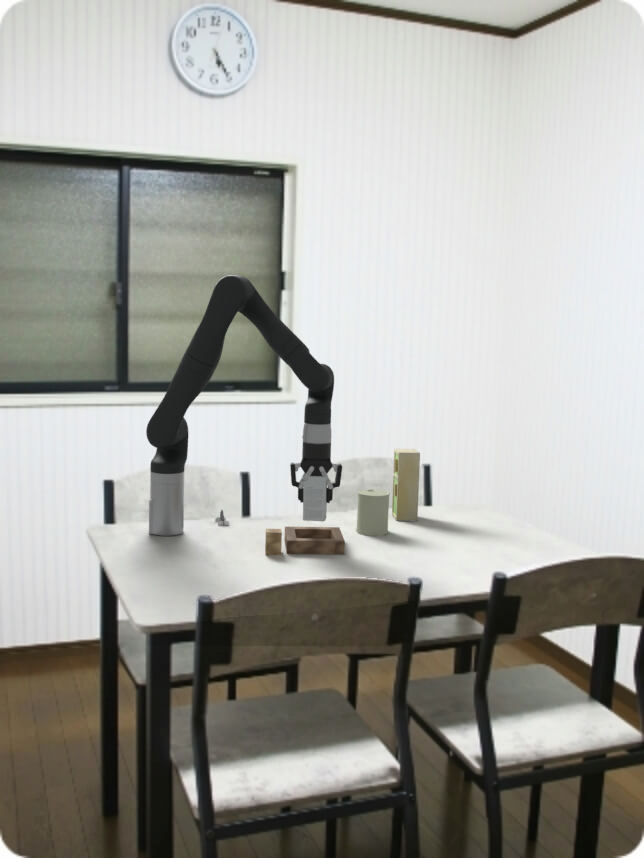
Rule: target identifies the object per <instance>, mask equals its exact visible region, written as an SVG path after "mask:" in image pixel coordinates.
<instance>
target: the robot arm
mask: <svg viewBox="0 0 644 858" xmlns="http://www.w3.org/2000/svg"><path fill="white" fill-rule="evenodd" d="M237 313H240V314H241V315H243V316H244V318H246V319H247V320H249V321H250V322H251V324H253V326H255V328H256V329H257V330H258V331H259V333H260V334H261V336H262V337H263V339H264V340H265V342H266V344H268V346H269V347H270V348H271V350H272V351H273V352H274V353H275V354H276V355H277V356H278V357H279V358H280V359H281V360H282V361H283V362H284V363H285V364H286V365H288V367H289V368H290V369H291V371H292V372H293V373H294V374H295V376H296V377H297V379H298V380H299V381H300V383H302V385H303V386H304V387H306V388H307V400H306V402H305V405H304V415H303V417H304V419H303V422H304V423H303V428H302V429H303V430H302V437H301V438H302V451H301V452H302V453H301V455H302V456H301V457H302V458H301V461H300V462H290V464H289V466H290V467H289V470H290V481H291V486H293V487H295V488H297V499H298V501H300V503H302V504H303V489H304V481H307V480H308V477H310V476H323V477H326V483H327V504H330V503H331V502H332V501H333V495H334V493H333V492H334V489H335V488H339V487H340V485H341V480H342V474H343V473H342V471H343V465H342V464H341V463H340V462H339V463H332V461H331V458H332V456H331V455H332V454H331V453H332V400H333V395H334V387H335V375H334V371H333V369H332V368H331V366H329V365H327V364H325V363H320V362H319V361H317V359H316V358H314V356H313V355H312V354H311V353H310V349H309V348H308V346H307V345H306V344H305V343H304V342H303V341H302V340H301V339H300V337H298V336H297V335H296V334H295V332H293V331H292V330H291V329H290V328H289V327H288V326H287V325H286V324H285V322H283V320H281V318H279V317H278V316H277V314H275V312H274V311H273V310H272V309H271V307H270V306H269V305H268V304H267V303H266V301H265V300H264V299H263V297H262V296H261V294H260V293H259V291H258V290H257V288H256V287H255V286H254V285H253V283H252V282H251V280H250V279H248V278H247V277H246V276H243V275H241V274H240V275H239V274H228V275H225V276H223V277H221V278H220V279H219V280H217V282H216V283H215V285H214V288H213V290H212V292H211V296H210V298H209V301H208V304H207V306H206V310H205V312H204V314H203V317H202V319H201V320H200V323H199V325H198V326H197V328H196V330H195V331H194V334H193V336H192V338H191V340H190V342H189V344H188V346H187V348H186V350H185V351H184V353H183V356H182V357H181V359H180V362H179V365H178V366H177V369H176V371H175V373H174V374H173V377H172V379H171V381H170V384H169V385H168V387H167V390H166V393H165V394H164V397H163V398H162V399H161V401H160V403H159V405H158V406H157V408H156V409H155V411H154V413H153V414H152V416H151V417H150V419H149V421H148V423H147V426H146V434H145V435H146V439H147V441H148V443H149V444H150V445H151V446H153V447H154V448H156V451H155V454H154V456H153V458H152V460H151V461H150V467H149V468H150V470H149V471H150V475H149V477H150V478H149V479H150V480H149V481H150V484H149V485H150V486H149V488H150V491H149V496H150V497H149V500H148V535H155V536H163V537H164V536H166V537H167V536H178V535H181V534H183V533H184V528H185V527H184V526H185V525H184V524H185V523H184V522H185V521H184V519H185V514H184V513H185V511H184V510H185V467H186V462H187V460H188V451H189V450H188V449H189V426H188V423H187V420H186V419H185V415H186V413H187V410H188V409H189V407H190V406H191V405H192V403H193V402H194V401H195V399H196V398H198V396H200V394H201V393H202V391H203V390H204V389H205V388H206V386H207V385H208V384H209V382H210V380H211V378H212V377H213V376H214V373H215V371H216V369H217V367H218V365H219V363H220V360H221V358H222V353H223V349H224V344H225V338H226V335H227V333H228V332H227V331H228V330H229V328H230V326H231V324H232V322H233V320H234V318H235V316H237ZM299 469H301V470H302V471H303V474H302V476H301V479H300V480H299V481H297V476H296V474H297V472H298V471H299ZM331 469H333V472H335V477H334V481H333V482H332V481H331V479H330V478H329V476H328V473H329V472H330V471H331ZM304 475H305V476H304ZM306 477H307V478H306Z"/></svg>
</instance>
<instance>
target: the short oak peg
mask: <svg viewBox="0 0 644 858" xmlns="http://www.w3.org/2000/svg"><path fill="white" fill-rule="evenodd" d="M282 536H283V532H282V528H265V544H264V545H265V546H264V547H265V548H264V549H265V551H264V554H265V556H282Z"/></svg>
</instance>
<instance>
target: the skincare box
mask: <svg viewBox="0 0 644 858" xmlns="http://www.w3.org/2000/svg"><path fill="white" fill-rule="evenodd" d="M304 476H305V475H304ZM306 478H307V477H306ZM327 488H328V485H327V483H326V477H323V476H310V477H308V480H307V481H304V487H303V503H302V521H305V522H306V521H308V522H309V521H310V522H325V521H326V520H327V505H328V503H327Z"/></svg>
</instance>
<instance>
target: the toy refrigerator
mask: <svg viewBox="0 0 644 858" xmlns="http://www.w3.org/2000/svg"><path fill="white" fill-rule="evenodd" d="M420 461H421V453H420V451H419V450H417V449H415V448H394V450H393V472H392V473H393V474H392V500H391V501H392V502H391V503H392V504H391V515H392V517H393V518H394V519H395V520H396V522H397V521H401V522H403V521H405V522H406V521H408V522H409V521H411V522H412V521H414V522H416V521H418V519H419V518H418V517H419V516H418V514H419V512H418V511H419V490H420V489H419V488H420V487H419V486H420V485H419V484H420V465H421V464H420V463H421V462H420Z"/></svg>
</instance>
